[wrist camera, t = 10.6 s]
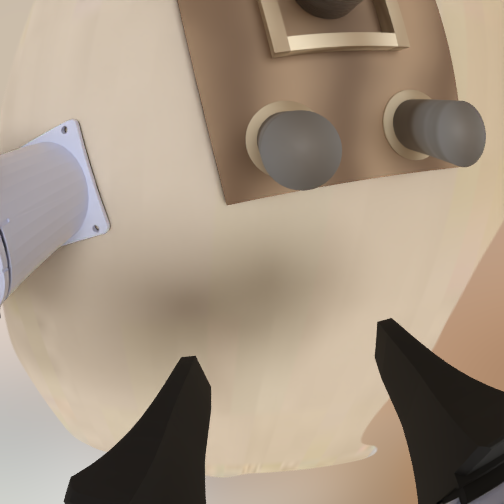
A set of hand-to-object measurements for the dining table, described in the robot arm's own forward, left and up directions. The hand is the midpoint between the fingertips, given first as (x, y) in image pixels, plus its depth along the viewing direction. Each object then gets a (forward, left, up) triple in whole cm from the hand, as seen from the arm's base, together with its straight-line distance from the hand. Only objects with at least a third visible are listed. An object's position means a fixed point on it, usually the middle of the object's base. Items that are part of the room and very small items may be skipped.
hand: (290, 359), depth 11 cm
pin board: (+6, +12, -9) cm, 16 cm away
